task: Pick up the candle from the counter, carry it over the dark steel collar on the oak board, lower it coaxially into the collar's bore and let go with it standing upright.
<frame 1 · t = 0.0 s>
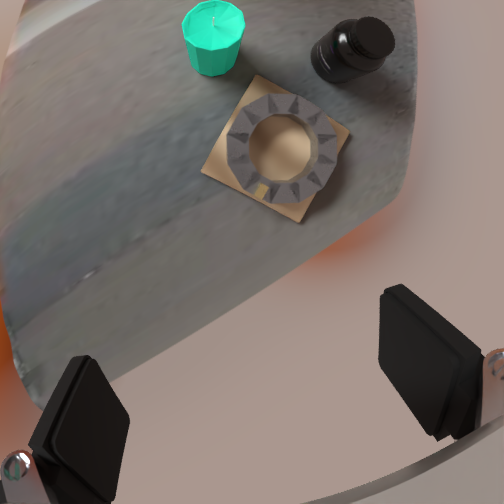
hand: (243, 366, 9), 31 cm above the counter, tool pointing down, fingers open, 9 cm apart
steel collar: (282, 148, 34), on the oak board, point 3 cm above the counter
candle: (213, 56, 32), on the counter
oak board: (277, 148, 37), on the counter
supplement bottle: (333, 62, 34), on the counter
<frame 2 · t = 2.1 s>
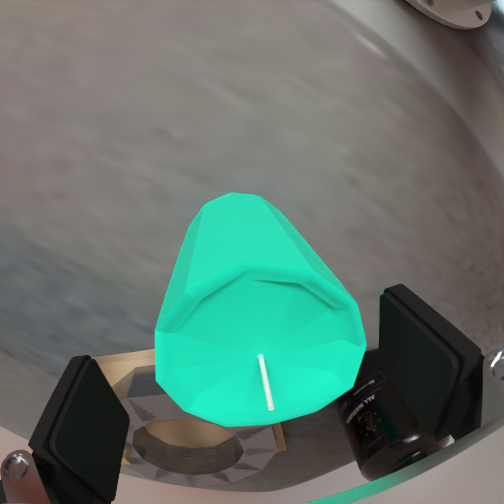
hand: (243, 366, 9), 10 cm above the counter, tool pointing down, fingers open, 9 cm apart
steel collar: (187, 439, 19), on the oak board, point 3 cm above the counter
candle: (238, 242, 18), on the counter
oak board: (189, 412, 22), on the counter
supplement bottle: (365, 375, 23), on the counter
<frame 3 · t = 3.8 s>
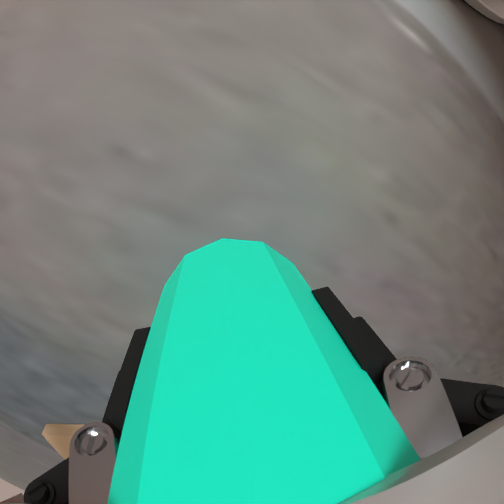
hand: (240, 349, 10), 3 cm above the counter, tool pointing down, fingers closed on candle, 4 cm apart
candle: (234, 305, 13), on the counter, touching gripper
oak board: (180, 480, 16), on the counter
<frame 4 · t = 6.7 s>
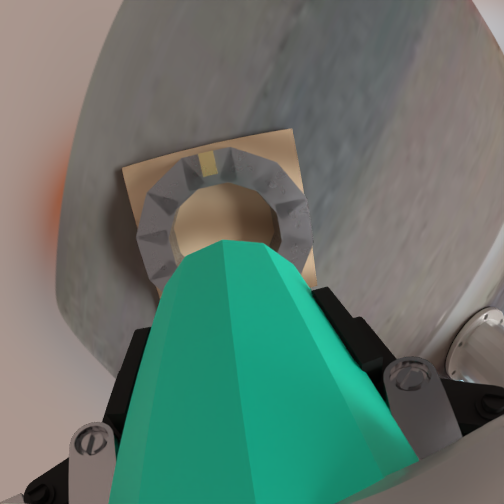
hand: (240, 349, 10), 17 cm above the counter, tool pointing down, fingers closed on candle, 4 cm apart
steel collar: (225, 235, 23), on the oak board, point 3 cm above the counter
candle: (234, 306, 13), point 14 cm above the counter, touching gripper
oak board: (223, 226, 26), on the counter
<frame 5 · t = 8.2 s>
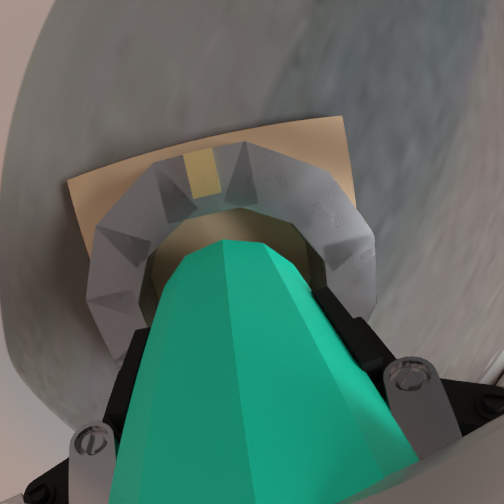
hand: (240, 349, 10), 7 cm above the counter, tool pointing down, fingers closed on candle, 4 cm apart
steel collar: (234, 294, 14), on the oak board, point 3 cm above the counter
candle: (234, 306, 13), point 4 cm above the counter, touching gripper
oak board: (230, 271, 17), on the counter
when the fingers open (5 cm above the counter, at t = 9.6 s): candle stays where it is, resting on oak board.
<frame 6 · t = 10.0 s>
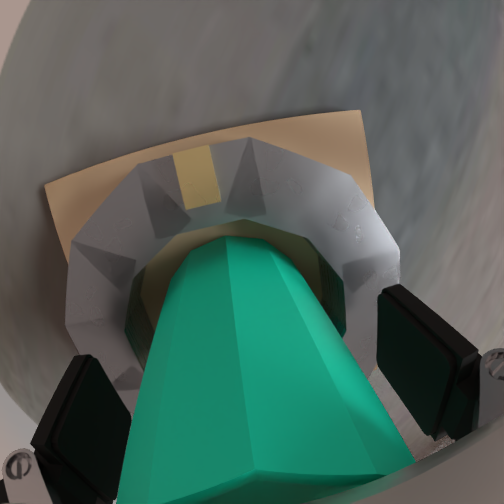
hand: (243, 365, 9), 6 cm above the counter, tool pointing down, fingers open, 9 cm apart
steel collar: (236, 319, 12), on the oak board, point 3 cm above the counter
candle: (236, 298, 14), point 1 cm above the counter, touching oak board
oak board: (231, 287, 14), on the counter
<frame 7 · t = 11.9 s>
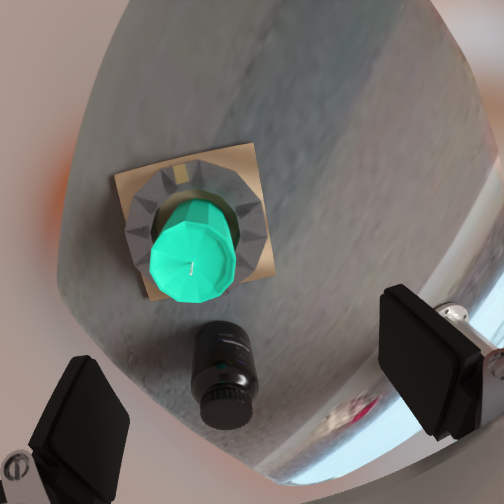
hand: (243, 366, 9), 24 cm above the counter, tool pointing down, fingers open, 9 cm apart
steel collar: (195, 231, 28), on the oak board, point 3 cm above the counter
candle: (197, 227, 31), point 1 cm above the counter, touching oak board
oak board: (196, 223, 31), on the counter
supplement bottle: (221, 341, 36), on the counter
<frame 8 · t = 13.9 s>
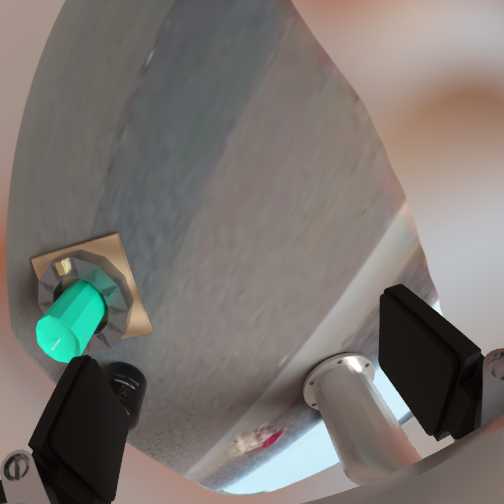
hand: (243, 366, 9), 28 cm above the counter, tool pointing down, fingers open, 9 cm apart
steel collar: (82, 303, 34), on the oak board, point 3 cm above the counter
candle: (89, 297, 36), point 1 cm above the counter, touching oak board
oak board: (90, 294, 37), on the counter
supplement bottle: (126, 377, 42), on the counter
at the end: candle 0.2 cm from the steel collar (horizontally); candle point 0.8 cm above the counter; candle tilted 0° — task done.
